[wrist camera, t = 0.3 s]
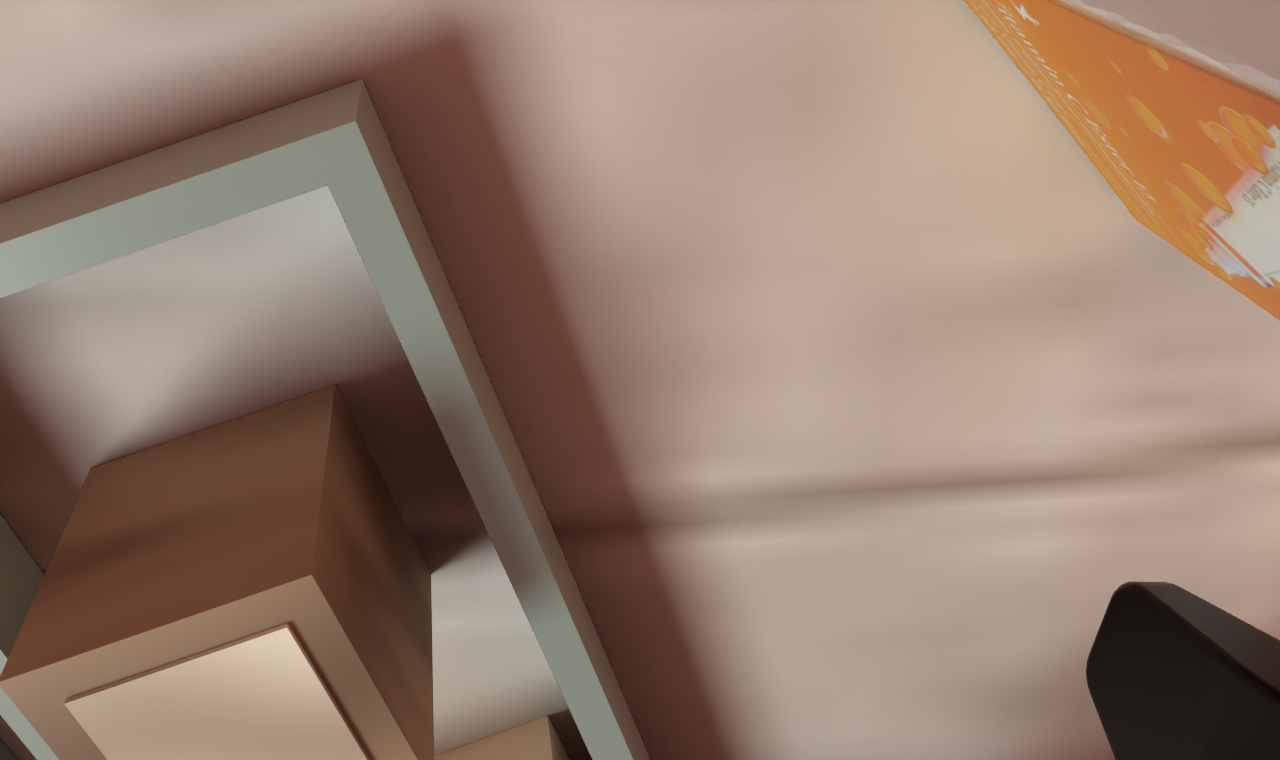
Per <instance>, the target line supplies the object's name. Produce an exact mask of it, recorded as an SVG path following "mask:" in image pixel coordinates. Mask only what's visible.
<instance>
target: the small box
mask: <svg viewBox="0 0 1280 760" xmlns="http://www.w3.org/2000/svg"><path fill="white" fill-rule="evenodd" d="M964 1H965V2H966V4H967V5H968V6H969V7H970V8H971V10H972V11H973V12H974V13H975V14H976V16H977V17H978V18H979V19H980V21H981V22H982V23H983V24H984V26H985V27H986V28H987V29H988V31H989V32H990V33H991V34H992V35H993V37H994V38H995V39H996V40H997V42H998V43H999V44H1000V46H1001V47H1002V48H1003V49H1004V51H1005V52H1006V53H1007V55H1008V56H1009V57H1010V58H1011V60H1012V61H1013V62H1014V63H1015V65H1016V66H1017V67H1018V68H1019V69H1020V71H1021V72H1022V73H1023V74H1024V75H1025V77H1026V78H1027V79H1028V80H1029V81H1030V83H1031V84H1032V85H1033V86H1034V88H1035V89H1036V90H1037V92H1038V93H1039V94H1040V96H1041V97H1042V98H1043V99H1044V101H1045V102H1046V103H1047V105H1048V106H1049V107H1050V108H1051V110H1052V111H1053V112H1054V114H1055V115H1056V116H1057V117H1058V119H1059V120H1060V121H1061V123H1062V124H1063V125H1064V127H1065V128H1066V129H1067V130H1068V132H1069V133H1070V134H1071V136H1072V137H1073V138H1074V140H1075V141H1076V142H1077V143H1078V145H1079V146H1080V147H1081V149H1082V150H1083V151H1084V153H1085V154H1086V155H1087V156H1088V158H1089V159H1090V160H1091V162H1092V163H1093V164H1094V166H1095V167H1096V168H1097V169H1098V171H1099V172H1100V173H1101V175H1102V176H1103V177H1104V179H1105V180H1106V181H1107V183H1108V184H1109V185H1110V187H1111V188H1112V189H1113V191H1114V192H1115V193H1116V194H1117V196H1118V197H1119V198H1120V200H1121V201H1122V202H1123V204H1124V205H1125V206H1126V208H1127V209H1128V211H1129V212H1130V213H1131V215H1132V216H1133V217H1134V218H1135V219H1136V220H1137V221H1138V222H1140V223H1141V224H1143V225H1144V226H1145V227H1147V228H1148V229H1150V230H1151V231H1152V232H1154V233H1155V234H1157V235H1158V236H1160V237H1161V238H1163V239H1164V240H1166V241H1167V242H1168V243H1170V244H1171V245H1173V246H1174V247H1176V248H1177V249H1178V250H1180V251H1181V252H1183V253H1184V254H1185V255H1187V256H1188V257H1190V258H1191V259H1192V260H1194V261H1195V262H1196V263H1198V264H1199V265H1201V266H1202V267H1204V268H1205V269H1207V270H1208V271H1210V272H1211V273H1213V274H1214V275H1216V276H1217V277H1219V278H1220V279H1221V280H1223V281H1224V282H1226V283H1227V284H1229V285H1230V286H1232V287H1233V288H1235V289H1236V290H1238V291H1239V292H1240V293H1242V294H1243V295H1245V296H1246V297H1248V298H1249V299H1251V300H1252V301H1253V302H1255V303H1256V304H1257V305H1259V306H1260V307H1262V308H1263V309H1264V310H1266V311H1267V312H1269V313H1270V314H1272V315H1273V316H1274V317H1276V318H1277V319H1278V320H1280V0H964Z"/></svg>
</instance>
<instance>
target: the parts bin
mask: <svg viewBox="0 0 1280 760" xmlns="http://www.w3.org/2000/svg"><path fill="white" fill-rule="evenodd" d="M327 185H328V187H329V189H330V191H331V193H332V195H333V198H334V200H335V202H336V204H337V206H338V208H339V211H340V213H341V215H342V217H343V219H344V221H345V224H346V226H347V228H348V230H349V232H350V234H351V237H352V239H353V241H354V243H355V245H356V247H357V250H358V252H359V254H360V256H361V258H362V260H363V263H364V265H365V267H366V269H367V271H368V273H369V276H370V278H371V280H372V282H373V284H374V287H375V289H376V291H377V293H378V295H379V297H380V300H381V302H382V304H383V306H384V308H385V310H386V313H387V315H388V317H389V319H390V321H391V323H392V326H393V328H394V330H395V332H396V334H397V336H398V339H399V341H400V343H401V345H402V347H403V349H404V352H405V354H406V356H407V358H408V360H409V362H410V365H411V367H412V369H413V371H414V373H415V376H416V378H417V380H418V382H419V384H420V386H421V389H422V391H423V393H424V395H425V397H426V399H427V402H428V404H429V406H430V408H431V410H432V412H433V415H434V417H435V419H436V421H437V423H438V425H439V428H440V430H441V432H442V434H443V436H444V438H445V441H446V443H447V445H448V447H449V449H450V451H451V454H452V456H453V458H454V460H455V462H456V464H457V467H458V469H459V471H460V473H461V475H462V478H463V480H464V482H465V484H466V486H467V488H468V491H469V493H470V495H471V497H472V499H473V501H474V504H475V506H476V508H477V510H478V512H479V514H480V517H481V519H482V521H483V523H484V525H485V527H486V530H487V532H488V534H489V536H490V538H491V540H492V543H493V545H494V547H495V549H496V551H497V553H498V556H499V558H500V560H501V562H502V564H503V567H504V569H505V571H506V573H507V575H508V577H509V580H510V582H511V584H512V586H513V588H514V590H515V593H516V595H517V597H518V599H519V601H520V603H521V606H522V608H523V610H524V612H525V614H526V616H527V619H528V621H529V623H530V625H531V627H532V629H533V632H534V634H535V636H536V638H537V640H538V642H539V645H540V647H541V649H542V651H543V653H544V656H545V658H546V660H547V662H548V664H549V666H550V669H551V671H552V673H553V675H554V677H555V679H556V682H557V684H558V686H559V688H560V690H561V692H562V695H563V697H564V699H565V701H566V703H567V705H568V708H569V710H570V712H571V714H572V716H573V718H574V721H575V723H576V725H577V727H578V729H579V731H580V734H581V736H582V738H583V740H584V742H585V744H586V747H587V749H588V751H589V753H590V755H591V758H592V760H650V757H649V755H648V752H647V750H646V748H645V745H644V743H643V741H642V738H641V736H640V734H639V731H638V729H637V726H636V724H635V722H634V719H633V717H632V715H631V712H630V710H629V708H628V705H627V703H626V701H625V698H624V696H623V693H622V691H621V689H620V686H619V684H618V682H617V679H616V677H615V675H614V672H613V670H612V667H611V665H610V663H609V660H608V658H607V656H606V653H605V651H604V649H603V646H602V644H601V641H600V639H599V637H598V634H597V632H596V630H595V627H594V625H593V623H592V620H591V618H590V616H589V613H588V611H587V608H586V606H585V604H584V601H583V599H582V597H581V594H580V592H579V590H578V587H577V585H576V582H575V580H574V578H573V575H572V573H571V571H570V568H569V566H568V564H567V561H566V559H565V557H564V554H563V552H562V549H561V547H560V545H559V542H558V540H557V538H556V535H555V533H554V531H553V528H552V526H551V523H550V521H549V519H548V516H547V514H546V512H545V509H544V507H543V505H542V502H541V500H540V497H539V495H538V493H537V490H536V488H535V486H534V483H533V481H532V479H531V476H530V474H529V472H528V469H527V467H526V464H525V462H524V460H523V457H522V455H521V453H520V450H519V448H518V446H517V443H516V441H515V438H514V436H513V434H512V431H511V429H510V427H509V424H508V422H507V420H506V417H505V415H504V412H503V410H502V408H501V405H500V403H499V401H498V398H497V396H496V394H495V391H494V389H493V387H492V384H491V382H490V379H489V377H488V375H487V372H486V370H485V368H484V365H483V363H482V361H481V358H480V356H479V353H478V351H477V349H476V346H475V344H474V342H473V339H472V337H471V335H470V332H469V330H468V327H467V325H466V323H465V320H464V318H463V316H462V313H461V311H460V309H459V306H458V304H457V302H456V299H455V297H454V294H453V292H452V290H451V287H450V285H449V283H448V280H447V278H446V276H445V273H444V271H443V268H442V266H441V264H440V261H439V259H438V257H437V254H436V252H435V250H434V247H433V245H432V242H431V240H430V238H429V235H428V233H427V231H426V228H425V226H424V224H423V221H422V219H421V217H420V214H419V212H418V209H417V207H416V205H415V202H414V200H413V198H412V195H411V193H410V191H409V188H408V186H407V183H406V181H405V179H404V176H403V174H402V172H401V169H400V167H399V165H398V162H397V160H396V157H395V155H394V153H393V150H392V148H391V146H390V143H389V141H388V139H387V136H386V134H385V132H384V129H383V127H382V124H381V122H380V120H379V117H378V115H377V113H376V110H375V108H374V106H373V103H372V101H371V98H370V96H369V94H368V91H367V89H366V87H365V84H364V82H363V80H362V79H360V80H357V81H354V82H351V83H348V84H346V85H343V86H340V87H337V88H334V89H331V90H328V91H325V92H322V93H319V94H317V95H314V96H311V97H308V98H305V99H302V100H299V101H296V102H293V103H291V104H288V105H285V106H282V107H279V108H276V109H273V110H270V111H267V112H264V113H262V114H259V115H256V116H253V117H250V118H247V119H244V120H241V121H238V122H235V123H233V124H230V125H227V126H224V127H221V128H218V129H215V130H212V131H209V132H207V133H204V134H201V135H198V136H195V137H192V138H189V139H186V140H183V141H180V142H178V143H175V144H172V145H169V146H166V147H163V148H160V149H157V150H154V151H152V152H149V153H146V154H143V155H140V156H137V157H134V158H131V159H128V160H125V161H123V162H120V163H117V164H114V165H111V166H108V167H105V168H102V169H99V170H97V171H94V172H91V173H88V174H85V175H82V176H79V177H76V178H73V179H70V180H68V181H65V182H62V183H59V184H56V185H53V186H50V187H47V188H44V189H42V190H39V191H36V192H33V193H30V194H27V195H24V196H21V197H18V198H15V199H13V200H10V201H7V202H4V203H1V204H0V298H2V297H5V296H8V295H11V294H14V293H17V292H20V291H23V290H25V289H28V288H31V287H34V286H37V285H40V284H43V283H46V282H49V281H51V280H54V279H57V278H60V277H63V276H66V275H69V274H72V273H75V272H78V271H80V270H83V269H86V268H89V267H92V266H95V265H98V264H101V263H104V262H107V261H109V260H112V259H115V258H118V257H121V256H124V255H127V254H130V253H133V252H136V251H138V250H141V249H144V248H147V247H150V246H153V245H156V244H159V243H162V242H164V241H167V240H170V239H173V238H176V237H179V236H182V235H185V234H188V233H191V232H193V231H196V230H199V229H202V228H205V227H208V226H211V225H214V224H217V223H220V222H222V221H225V220H228V219H231V218H234V217H237V216H240V215H243V214H246V213H248V212H251V211H254V210H257V209H260V208H263V207H266V206H269V205H272V204H275V203H277V202H280V201H283V200H286V199H289V198H292V197H295V196H298V195H301V194H304V193H306V192H309V191H312V190H315V189H318V188H321V187H324V186H327ZM43 577H44V573H43V572H42V571H41V569H40V568H39V567H38V565H37V564H36V562H35V561H34V560H33V558H32V557H31V555H30V554H29V553H28V551H27V550H26V549H25V547H24V546H23V544H22V543H21V542H20V540H19V539H18V538H17V536H16V535H15V533H14V532H13V531H12V529H11V528H10V527H9V525H8V524H7V522H6V521H5V520H4V518H3V517H2V516H1V514H0V675H1V673H2V671H3V669H4V666H5V664H6V662H7V659H8V657H9V655H10V653H11V650H12V648H13V646H14V643H15V641H16V639H17V636H18V634H19V632H20V630H21V627H22V625H23V623H24V620H25V618H26V616H27V614H28V611H29V609H30V607H31V604H32V602H33V600H34V598H35V595H36V593H37V591H38V588H39V586H40V584H41V581H42V579H43ZM0 715H1V716H2V718H3V719H4V720H5V721H6V722H7V724H8V725H9V726H10V727H11V729H12V730H13V731H14V732H15V733H16V735H17V736H18V737H19V738H20V740H21V741H22V742H23V743H24V744H25V746H26V747H27V748H28V749H29V751H30V752H31V753H32V754H33V756H34V757H35V758H36V759H37V760H59V759H58V757H57V756H56V755H55V754H54V753H53V751H52V750H51V749H50V748H49V746H48V745H47V744H46V743H45V741H44V740H43V739H42V738H41V736H40V735H39V734H38V733H37V731H36V730H35V729H34V728H33V726H32V725H31V724H30V723H29V721H28V720H27V719H26V718H25V716H24V715H23V714H22V713H21V711H20V710H19V709H18V708H17V706H16V705H15V704H14V703H13V702H12V700H11V699H10V698H9V697H8V695H7V694H6V693H5V692H4V690H3V689H2V688H1V687H0Z"/></svg>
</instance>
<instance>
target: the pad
mask: <svg viewBox="0 0 1280 760" xmlns="http://www.w3.org/2000/svg"><path fill="white" fill-rule="evenodd" d="M0 760H17V759H16V758H15V757H14V756H13V754H12V753H11V752H10V751H9V750H8V748H7V747H6V746H5V745H4V744H3V742H2V741H1V740H0Z"/></svg>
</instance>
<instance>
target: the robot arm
mask: <svg viewBox="0 0 1280 760" xmlns="http://www.w3.org/2000/svg"><path fill="white" fill-rule="evenodd" d="M1086 677H1087V683H1088V688H1089V691H1090V694H1091V697H1092V699H1093V702H1094V704H1095V707H1096V710H1097V712H1098V715H1099V718H1100V720H1101V723H1102V725H1103V728H1104V731H1105V733H1106V736H1107V738H1108V741H1109V744H1110V746H1111V749H1112V751H1113V754H1114V757H1115V759H1116V760H1280V640H1278V639H1276V638H1274V637H1272V636H1270V635H1268V634H1266V633H1265V632H1263V631H1261V630H1259V629H1257V628H1255V627H1253V626H1252V625H1250V624H1248V623H1246V622H1244V621H1242V620H1240V619H1239V618H1237V617H1235V616H1233V615H1231V614H1229V613H1227V612H1225V611H1224V610H1222V609H1220V608H1218V607H1216V606H1214V605H1212V604H1211V603H1209V602H1207V601H1205V600H1203V599H1201V598H1199V597H1198V596H1196V595H1194V594H1192V593H1190V592H1188V591H1186V590H1184V589H1183V588H1181V587H1179V586H1177V585H1174V584H1171V583H1166V582H1127V583H1125V584H1122V585H1121V586H1119V587H1118V589H1117V590H1116V591H1115V592H1114V593H1113V595H1112V597H1111V600H1110V602H1109V605H1108V607H1107V610H1106V613H1105V615H1104V618H1103V620H1102V623H1101V625H1100V628H1099V630H1098V633H1097V636H1096V638H1095V641H1094V643H1093V646H1092V648H1091V651H1090V653H1089V656H1088V660H1087V667H1086Z"/></svg>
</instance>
